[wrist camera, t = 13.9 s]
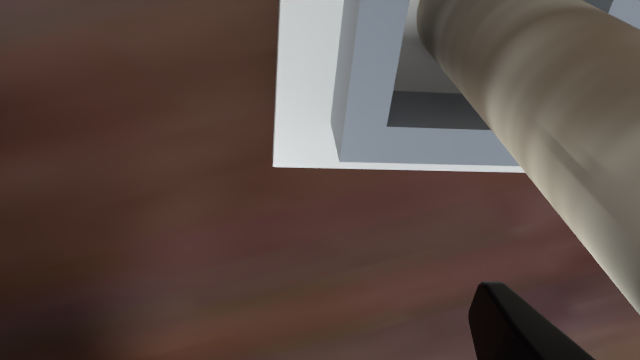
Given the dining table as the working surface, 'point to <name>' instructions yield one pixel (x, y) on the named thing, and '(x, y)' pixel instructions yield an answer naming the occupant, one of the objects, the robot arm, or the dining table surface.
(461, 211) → the dining table surface
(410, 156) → the socket block
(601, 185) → the peg
